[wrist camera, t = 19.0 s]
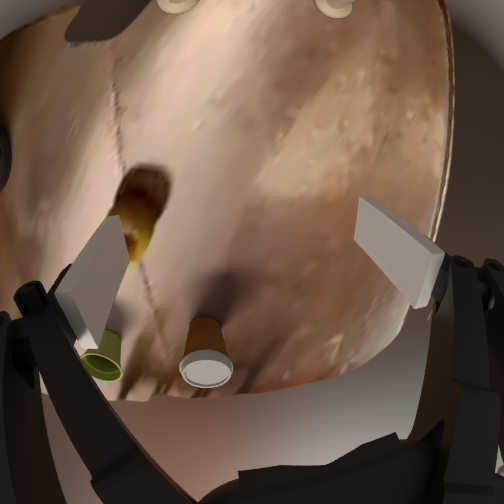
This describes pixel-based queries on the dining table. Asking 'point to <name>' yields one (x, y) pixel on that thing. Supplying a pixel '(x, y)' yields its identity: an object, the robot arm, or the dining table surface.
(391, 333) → the dining table surface
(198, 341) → the disposable coffee cup
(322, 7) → the gate
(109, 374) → the plant pot
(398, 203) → the dining table surface
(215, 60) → the dining table surface
